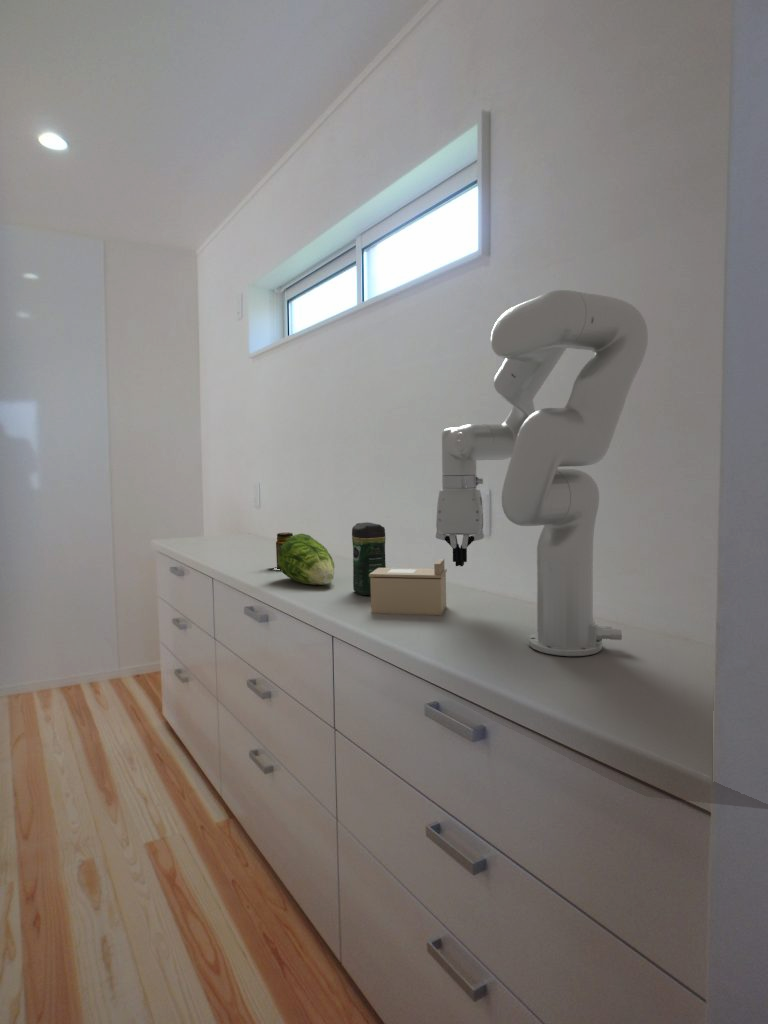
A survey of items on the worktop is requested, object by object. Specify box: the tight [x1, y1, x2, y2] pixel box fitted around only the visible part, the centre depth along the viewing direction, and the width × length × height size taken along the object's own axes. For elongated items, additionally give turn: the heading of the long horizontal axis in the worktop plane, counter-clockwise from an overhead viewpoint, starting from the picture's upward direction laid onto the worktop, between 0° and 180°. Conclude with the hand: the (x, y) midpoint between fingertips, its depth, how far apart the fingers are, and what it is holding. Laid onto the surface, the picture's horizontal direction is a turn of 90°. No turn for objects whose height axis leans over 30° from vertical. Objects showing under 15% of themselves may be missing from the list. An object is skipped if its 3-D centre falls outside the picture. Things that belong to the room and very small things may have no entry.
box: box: [370, 572, 447, 616], centre depth 135 cm, size 16×8×8 cm, turn 76°
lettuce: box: [278, 533, 335, 586], centre depth 170 cm, size 14×23×13 cm, turn 31°
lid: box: [369, 558, 448, 578], centre depth 135 cm, size 16×9×3 cm, turn 76°
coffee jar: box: [351, 522, 387, 596], centre depth 155 cm, size 10×8×19 cm
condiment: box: [267, 532, 294, 572], centre depth 196 cm, size 7×8×12 cm
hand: (459, 565), depth 132 cm, fingers closed
